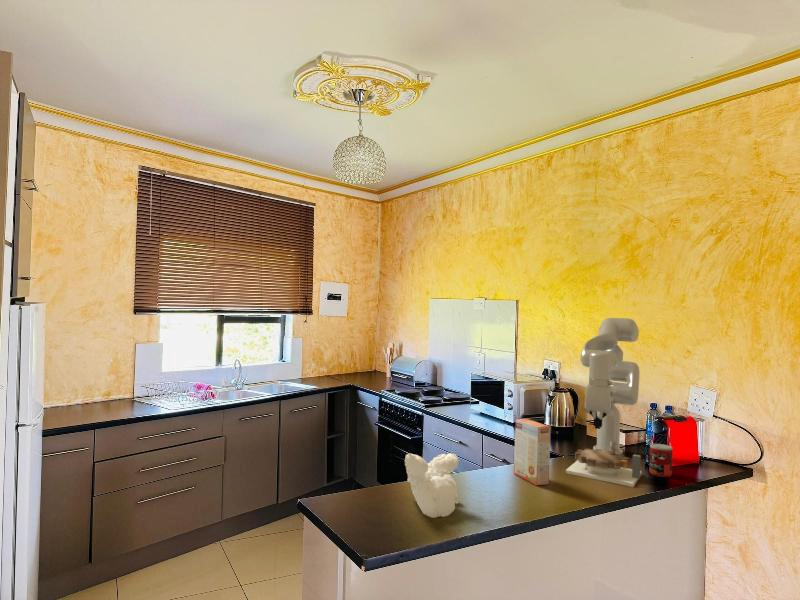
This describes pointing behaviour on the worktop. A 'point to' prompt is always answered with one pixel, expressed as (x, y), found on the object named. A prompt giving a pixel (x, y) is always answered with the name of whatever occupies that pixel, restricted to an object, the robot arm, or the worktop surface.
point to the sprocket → (602, 458)
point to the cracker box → (532, 451)
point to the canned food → (661, 460)
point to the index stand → (609, 472)
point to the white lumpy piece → (433, 483)
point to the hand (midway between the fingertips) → (597, 428)
